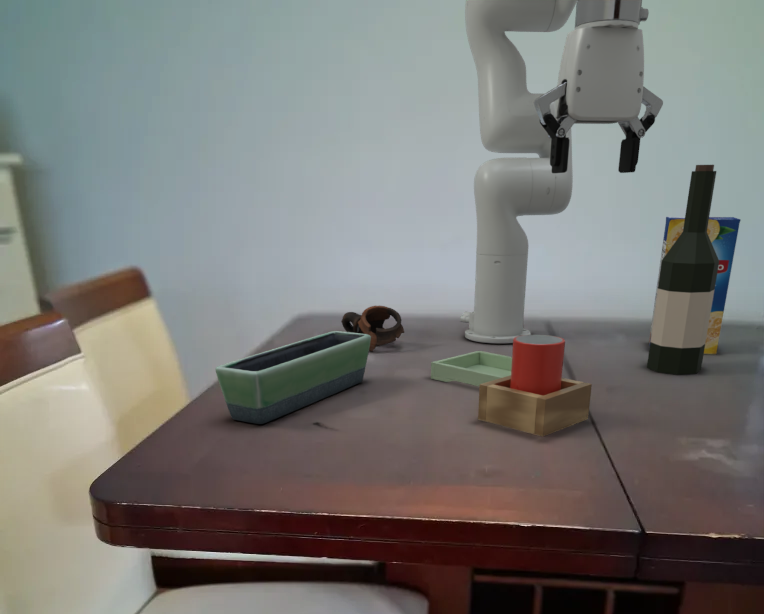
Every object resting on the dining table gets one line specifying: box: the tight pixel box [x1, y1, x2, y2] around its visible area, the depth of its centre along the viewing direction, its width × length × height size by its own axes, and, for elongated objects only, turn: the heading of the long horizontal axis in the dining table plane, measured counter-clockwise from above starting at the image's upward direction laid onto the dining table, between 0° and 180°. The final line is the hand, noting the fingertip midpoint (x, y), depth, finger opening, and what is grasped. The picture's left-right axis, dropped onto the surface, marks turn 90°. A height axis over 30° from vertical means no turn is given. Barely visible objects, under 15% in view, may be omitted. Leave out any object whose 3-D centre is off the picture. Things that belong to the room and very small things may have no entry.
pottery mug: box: [340, 305, 406, 352], centre depth 137 cm, size 12×10×8 cm
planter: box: [215, 330, 371, 425], centre depth 104 cm, size 28×7×7 cm, turn 150°
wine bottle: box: [646, 164, 719, 376], centre depth 114 cm, size 8×8×30 cm
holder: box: [477, 375, 593, 438], centre depth 94 cm, size 10×10×5 cm
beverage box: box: [648, 216, 741, 355], centre depth 129 cm, size 7×11×22 cm, turn 75°
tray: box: [430, 350, 512, 387], centre depth 114 cm, size 15×12×3 cm
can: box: [510, 334, 566, 396], centre depth 92 cm, size 6×6×10 cm
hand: (593, 172), depth 97 cm, fingers open, 9 cm apart
